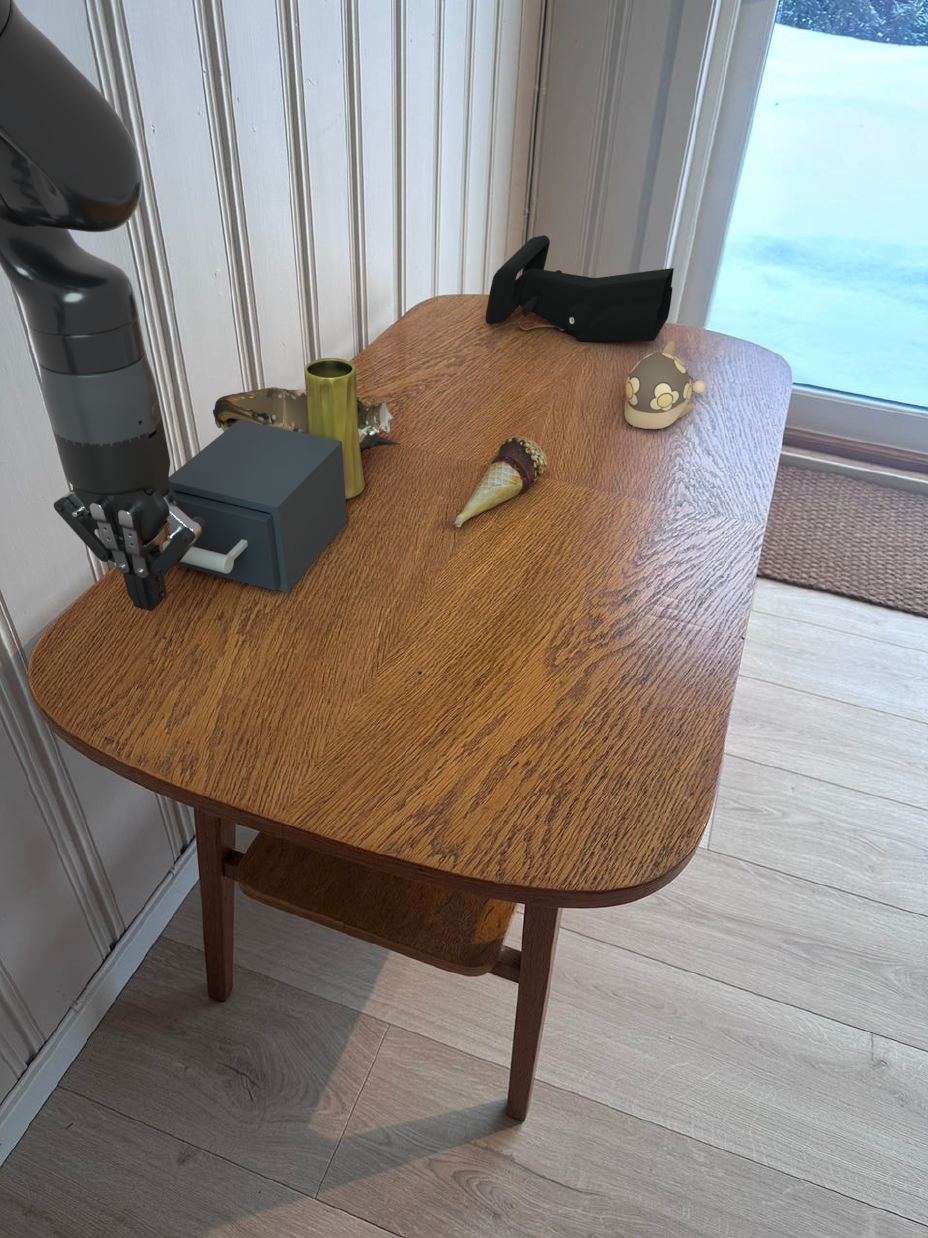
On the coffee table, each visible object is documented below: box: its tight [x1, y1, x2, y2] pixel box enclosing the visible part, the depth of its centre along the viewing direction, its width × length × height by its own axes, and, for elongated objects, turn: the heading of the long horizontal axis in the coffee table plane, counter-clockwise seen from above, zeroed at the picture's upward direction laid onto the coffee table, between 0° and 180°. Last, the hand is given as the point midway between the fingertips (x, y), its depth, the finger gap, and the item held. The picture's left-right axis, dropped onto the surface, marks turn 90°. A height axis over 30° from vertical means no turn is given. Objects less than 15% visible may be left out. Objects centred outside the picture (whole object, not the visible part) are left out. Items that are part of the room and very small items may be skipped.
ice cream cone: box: [453, 434, 548, 528], centre depth 98 cm, size 6×6×15 cm
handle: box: [484, 234, 675, 342], centre depth 135 cm, size 17×27×15 cm, turn 67°
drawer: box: [162, 492, 281, 591], centre depth 85 cm, size 16×11×8 cm, turn 160°
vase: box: [304, 357, 366, 501], centre depth 95 cm, size 6×6×14 cm
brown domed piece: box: [624, 338, 707, 430], centre depth 116 cm, size 10×11×15 cm
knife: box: [519, 320, 566, 332], centre depth 140 cm, size 13×1×3 cm
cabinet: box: [169, 420, 348, 593], centre depth 88 cm, size 13×12×10 cm
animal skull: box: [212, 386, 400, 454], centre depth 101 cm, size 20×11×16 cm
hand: (150, 603), depth 74 cm, fingers closed
